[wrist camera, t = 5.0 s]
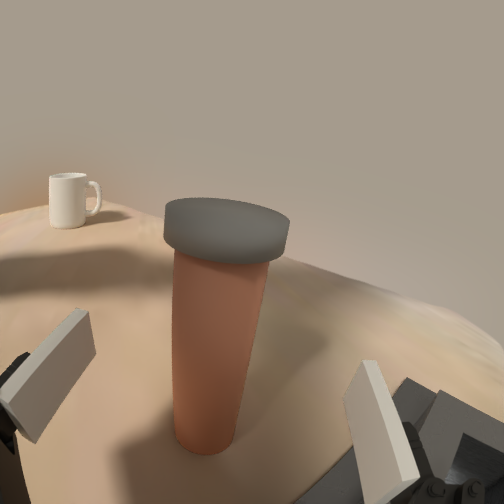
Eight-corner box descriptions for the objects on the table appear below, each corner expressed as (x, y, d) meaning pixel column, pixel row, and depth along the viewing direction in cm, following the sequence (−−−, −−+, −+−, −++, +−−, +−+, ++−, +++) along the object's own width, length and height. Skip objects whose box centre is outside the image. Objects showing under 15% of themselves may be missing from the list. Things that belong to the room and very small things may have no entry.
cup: (56, 218, 52) (56, 173, 49) (104, 219, 57) (106, 173, 53) (44, 229, 45) (43, 178, 42) (98, 230, 49) (99, 178, 46)
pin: (195, 472, 13) (212, 236, 8) (154, 420, 17) (146, 199, 11) (255, 439, 17) (314, 225, 11) (211, 396, 20) (236, 197, 15)
